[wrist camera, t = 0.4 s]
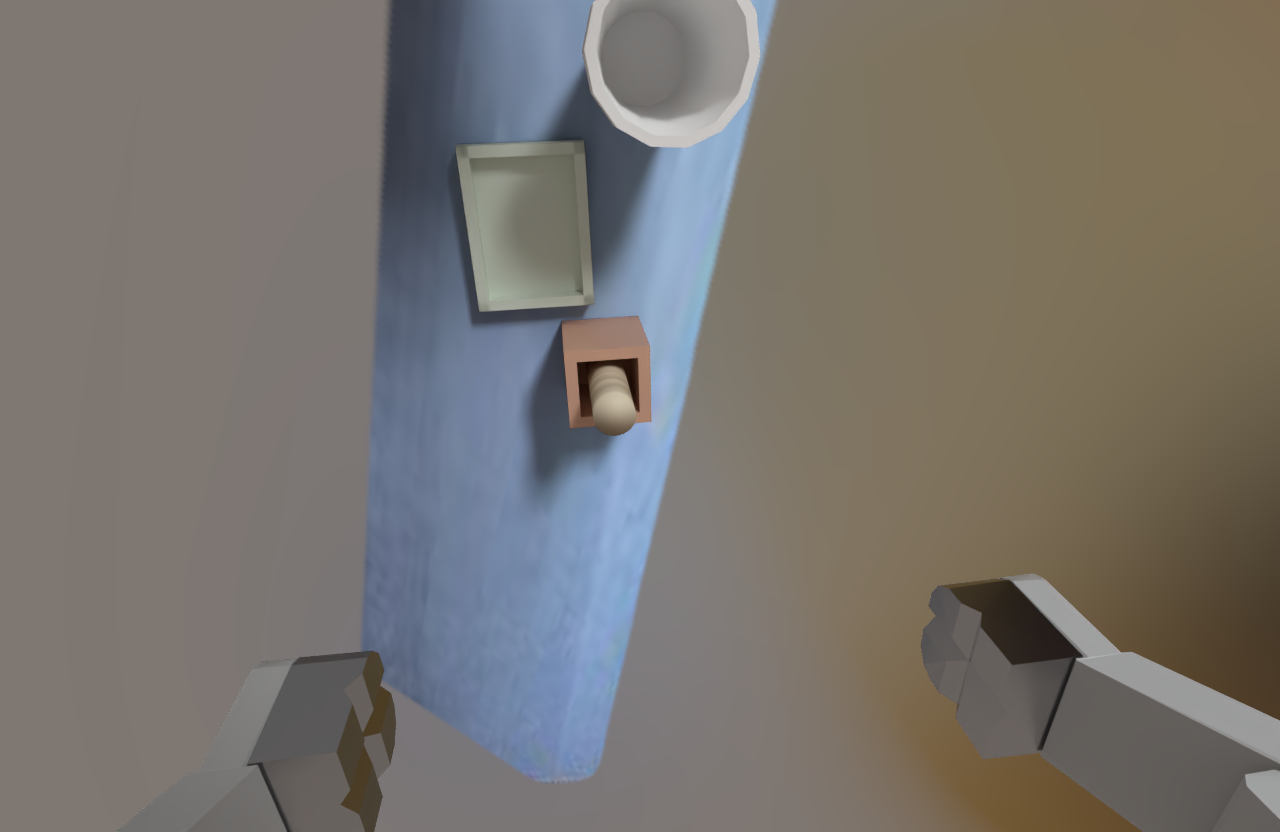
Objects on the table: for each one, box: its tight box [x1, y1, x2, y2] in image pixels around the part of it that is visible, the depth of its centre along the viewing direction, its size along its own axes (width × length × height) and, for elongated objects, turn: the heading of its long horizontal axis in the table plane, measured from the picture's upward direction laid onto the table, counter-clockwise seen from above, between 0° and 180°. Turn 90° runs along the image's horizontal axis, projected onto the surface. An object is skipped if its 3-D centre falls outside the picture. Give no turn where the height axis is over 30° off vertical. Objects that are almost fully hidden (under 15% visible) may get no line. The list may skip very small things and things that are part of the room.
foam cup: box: [582, 0, 760, 148], centre depth 40 cm, size 10×9×13 cm
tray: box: [455, 139, 594, 312], centre depth 49 cm, size 12×9×2 cm
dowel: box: [586, 359, 636, 436], centre depth 50 cm, size 3×3×11 cm
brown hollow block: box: [562, 316, 651, 428], centre depth 52 cm, size 6×6×7 cm
